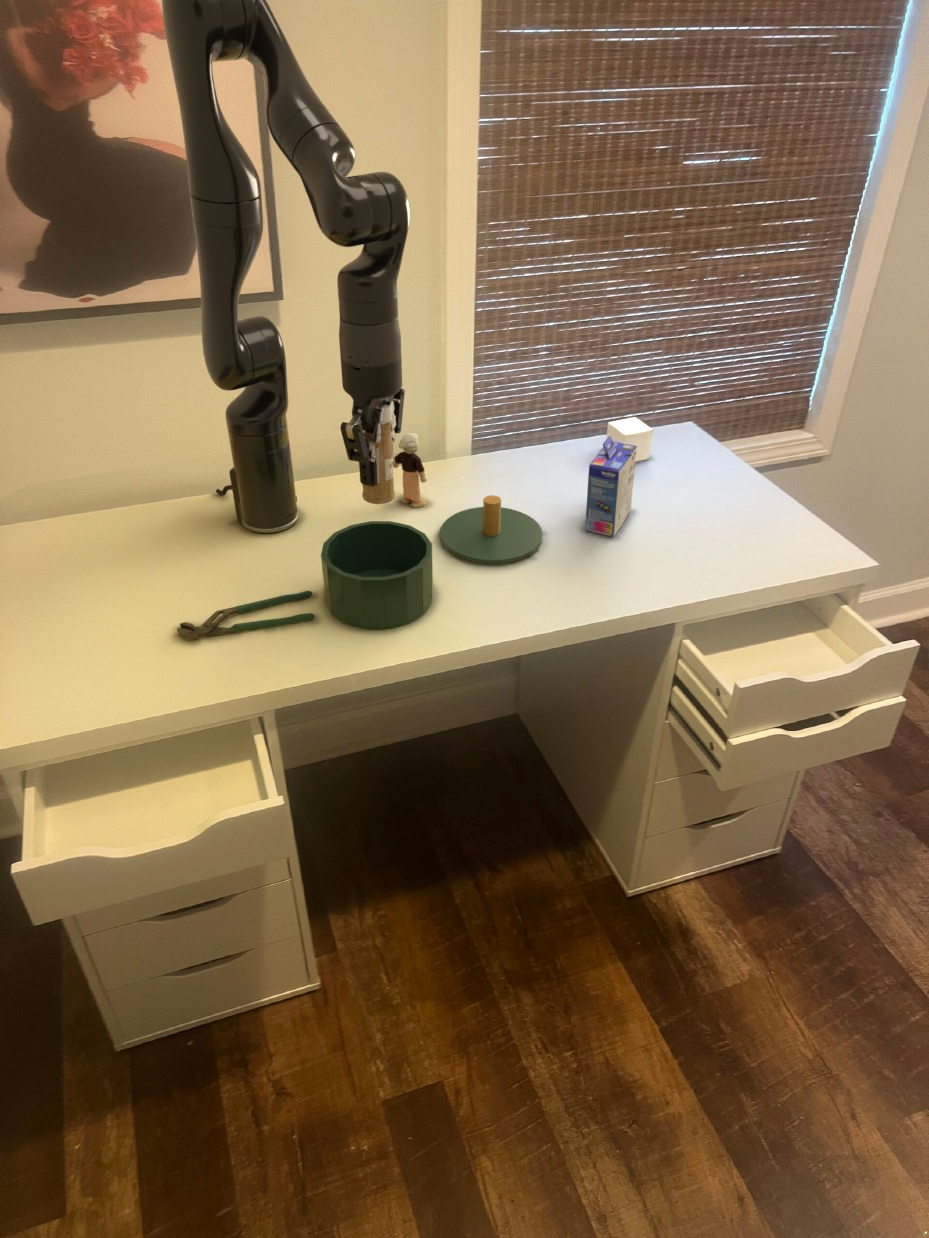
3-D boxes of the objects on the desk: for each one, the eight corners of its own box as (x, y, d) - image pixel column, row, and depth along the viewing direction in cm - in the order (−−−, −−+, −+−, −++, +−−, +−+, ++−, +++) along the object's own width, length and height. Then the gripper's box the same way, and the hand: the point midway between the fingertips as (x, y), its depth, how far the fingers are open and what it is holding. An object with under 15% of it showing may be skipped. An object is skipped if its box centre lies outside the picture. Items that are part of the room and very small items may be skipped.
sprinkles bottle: (401, 499, 123) (398, 407, 115) (371, 508, 121) (367, 415, 113) (384, 486, 126) (380, 394, 118) (355, 494, 124) (349, 402, 116)
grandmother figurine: (436, 502, 157) (435, 434, 149) (423, 511, 154) (421, 443, 146) (399, 490, 160) (397, 423, 152) (387, 499, 157) (383, 432, 150)
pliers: (311, 595, 134) (311, 588, 134) (321, 619, 129) (320, 612, 129) (175, 620, 129) (174, 612, 128) (180, 646, 124) (178, 638, 123)
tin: (307, 614, 130) (301, 565, 125) (357, 559, 142) (354, 512, 137) (404, 640, 126) (402, 590, 121) (449, 582, 137) (449, 534, 132)
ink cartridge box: (600, 503, 157) (608, 426, 148) (631, 510, 155) (641, 432, 146) (581, 530, 149) (589, 450, 141) (614, 538, 148) (623, 457, 139)
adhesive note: (621, 465, 168) (625, 435, 165) (604, 451, 173) (607, 422, 169) (648, 459, 170) (653, 429, 167) (631, 446, 175) (635, 416, 171)
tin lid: (423, 552, 144) (422, 513, 139) (463, 505, 156) (463, 467, 152) (522, 575, 139) (524, 535, 134) (555, 524, 151) (558, 486, 147)
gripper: (370, 329, 118) (376, 449, 128) (315, 367, 107) (326, 494, 118) (422, 338, 116) (424, 459, 126) (371, 377, 105) (378, 506, 115)
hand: (377, 475), depth 122 cm, fingers closed on sprinkles bottle, 4 cm apart
